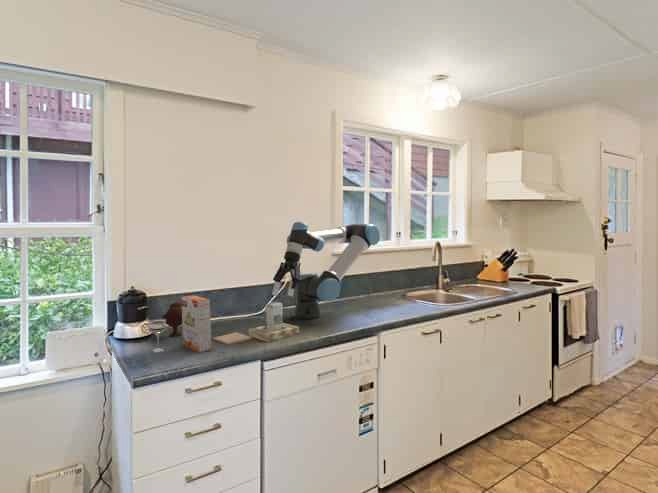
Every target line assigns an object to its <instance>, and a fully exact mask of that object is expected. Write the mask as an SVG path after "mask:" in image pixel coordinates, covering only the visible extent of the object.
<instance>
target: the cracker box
mask: <svg viewBox="0 0 658 493" xmlns="http://www.w3.org/2000/svg"><path fill="white" fill-rule="evenodd" d="M181 304H182V341H183V342H182V345H183V346H184V347H185V348H188V349H190V350H192V351H194V352H197V353H200V354H201V353H204V352H206V351H207V352H208V351H211V350H212V325H211V324H212V322H211V317H212V316H211V299H209V298H205V297H202V296H198V295H194V294H193V295H185V296H181Z"/></svg>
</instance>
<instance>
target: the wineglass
mask: <svg viewBox="0 0 658 493" xmlns="http://www.w3.org/2000/svg"><path fill="white" fill-rule="evenodd" d="M165 322H166V320H165V319H162V318H155V319H150V320H149V321H148V329H149V331H150V332H151V333H152V334H155V335H156V340H157V348H154V349H152V350H153V351H154V352H153V353H161V352H164V351H166V348H163V347H162V348H161V347H160V335H161V334H162V333H163V332H165V330H166V329H167V326H168V325H167V324H166V323H165ZM160 351H161V352H160Z"/></svg>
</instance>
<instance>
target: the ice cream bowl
mask: <svg viewBox="0 0 658 493" xmlns="http://www.w3.org/2000/svg"><path fill="white" fill-rule="evenodd" d="M161 319H165V320H166V322H165V323H166V325H167V326H169V327H171V328H172V329H173V330H172V332H171V333H170V334H168V336H169V337H170V338H177V336H178V337H181V336H183V333H181V332H180V331H178V327H180V326H181V325H183V323H182V302H177V301H176V302H173V303H171V304H170V305H169V309H168V310H167V311H166V312H165V313H164V314H163V315H161Z"/></svg>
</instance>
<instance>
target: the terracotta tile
mask: <svg viewBox="0 0 658 493" xmlns="http://www.w3.org/2000/svg"><path fill="white" fill-rule="evenodd" d="M252 338H253V337H251V336H249V335H247V334H244V333H239V332H236V331H235V332H232V333H228V334H224V335H220V336H219V335H218V336H215V337H213V338H212V339H213V340H214V341H216V342H219V343H221V344H224V345H227V346H229V345H233V344H237V343H242V342H245V341H249V340H253V339H252Z"/></svg>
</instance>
